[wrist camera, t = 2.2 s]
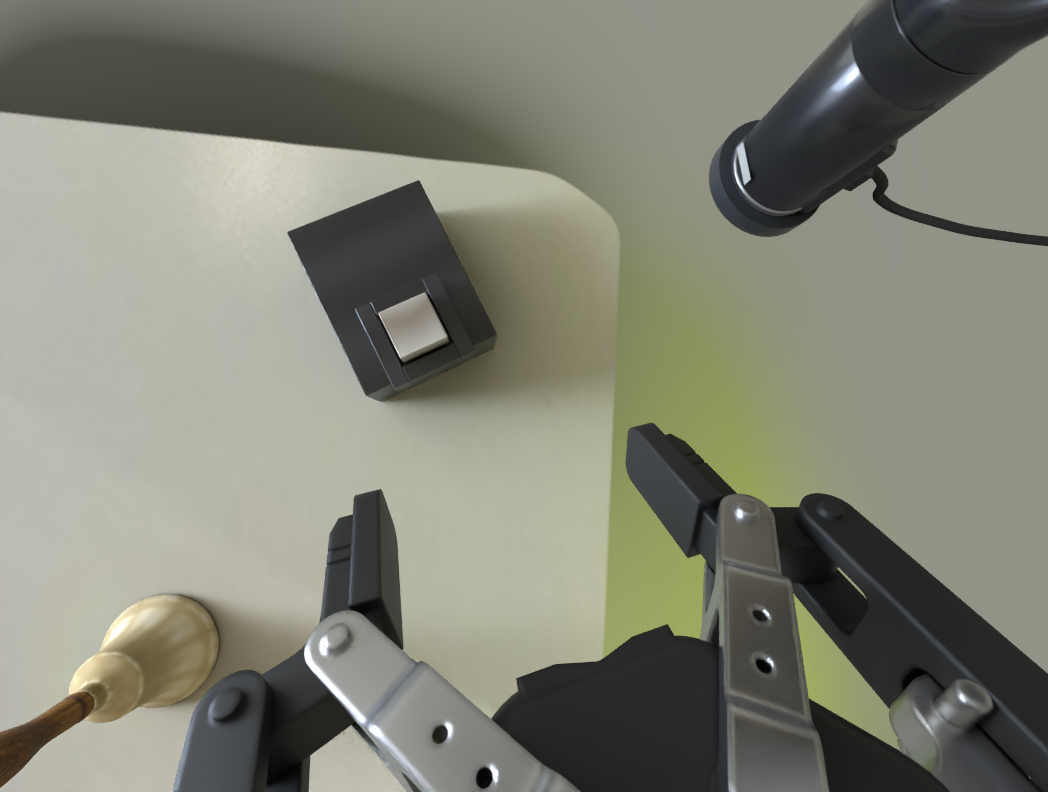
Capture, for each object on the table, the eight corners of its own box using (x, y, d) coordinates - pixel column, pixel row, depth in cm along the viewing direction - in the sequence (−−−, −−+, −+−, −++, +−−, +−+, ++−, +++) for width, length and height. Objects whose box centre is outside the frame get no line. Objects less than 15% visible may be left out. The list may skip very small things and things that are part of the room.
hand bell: (159, 729, 33) (-127, 993, 17) (78, 656, 33) (-285, 855, 17) (243, 641, 34) (46, 812, 19) (165, 571, 34) (-99, 682, 18)
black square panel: (497, 355, 39) (502, 337, 32) (384, 409, 37) (364, 402, 31) (426, 213, 40) (416, 165, 33) (311, 260, 38) (275, 220, 31)
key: (449, 342, 32) (447, 336, 30) (404, 363, 32) (400, 358, 30) (427, 299, 32) (425, 291, 30) (382, 319, 32) (377, 312, 30)
